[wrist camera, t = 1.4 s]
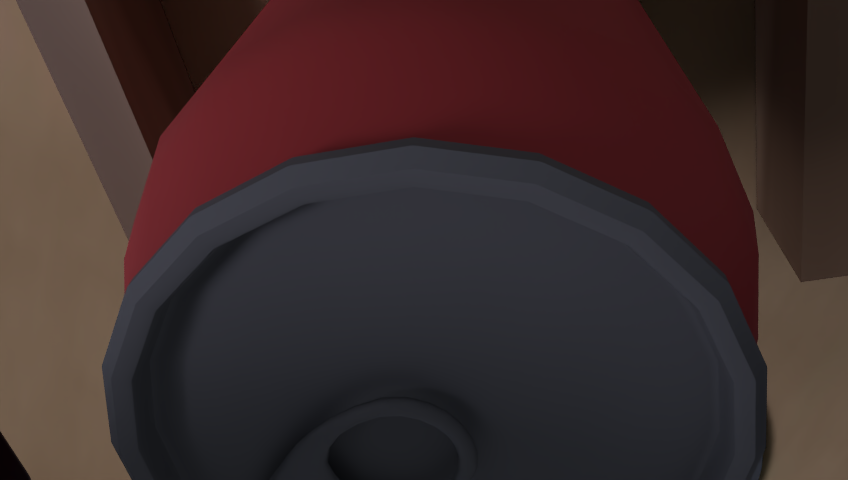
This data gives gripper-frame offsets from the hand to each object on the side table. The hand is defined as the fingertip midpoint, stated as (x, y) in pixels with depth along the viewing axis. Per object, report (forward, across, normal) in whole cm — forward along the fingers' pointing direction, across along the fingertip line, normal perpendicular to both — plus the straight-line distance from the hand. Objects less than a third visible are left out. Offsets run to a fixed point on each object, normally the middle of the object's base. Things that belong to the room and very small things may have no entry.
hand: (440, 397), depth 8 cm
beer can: (+11, 0, 0) cm, 11 cm away
